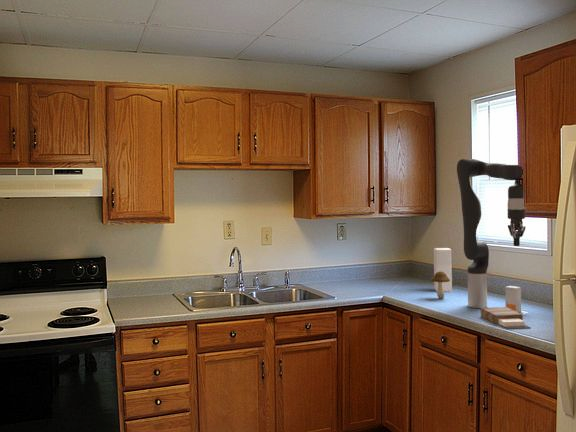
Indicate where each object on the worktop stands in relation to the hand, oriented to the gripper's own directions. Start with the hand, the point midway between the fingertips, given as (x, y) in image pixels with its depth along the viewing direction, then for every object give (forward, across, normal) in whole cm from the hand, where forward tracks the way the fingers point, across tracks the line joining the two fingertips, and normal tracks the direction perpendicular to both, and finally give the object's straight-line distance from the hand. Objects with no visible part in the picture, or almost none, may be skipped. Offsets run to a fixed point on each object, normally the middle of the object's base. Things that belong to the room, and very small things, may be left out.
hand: (516, 245), depth 254 cm
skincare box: (+33, -12, +4) cm, 36 cm away
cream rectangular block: (+33, +15, -10) cm, 37 cm away
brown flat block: (+33, +4, -10) cm, 35 cm away
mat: (+33, +17, -10) cm, 38 cm away
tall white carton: (+33, -74, -9) cm, 82 cm away
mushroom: (+33, -50, -19) cm, 63 cm away
